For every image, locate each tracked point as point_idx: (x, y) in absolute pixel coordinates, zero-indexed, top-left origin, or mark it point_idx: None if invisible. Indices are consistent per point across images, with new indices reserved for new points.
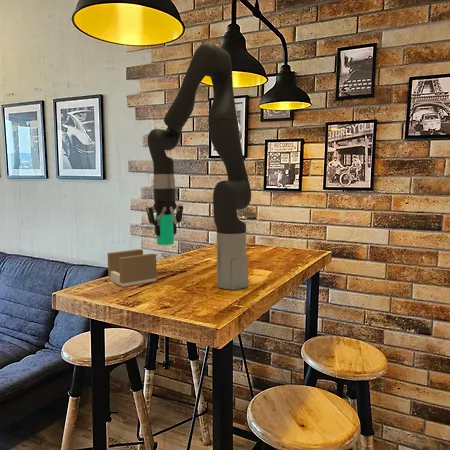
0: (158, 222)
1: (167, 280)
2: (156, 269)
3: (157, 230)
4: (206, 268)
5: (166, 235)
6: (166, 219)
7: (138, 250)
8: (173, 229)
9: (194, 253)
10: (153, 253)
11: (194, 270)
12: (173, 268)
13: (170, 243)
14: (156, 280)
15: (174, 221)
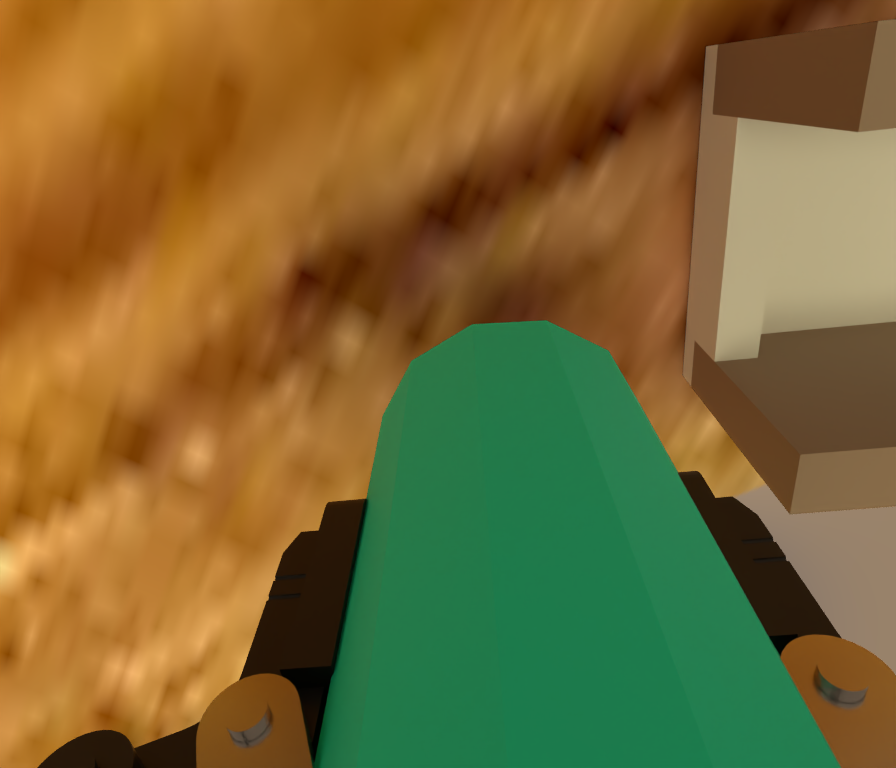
0: (877, 725)
1: (608, 2)
2: (758, 39)
3: (766, 564)
4: (79, 278)
5: (584, 398)
6: (696, 740)
7: (863, 450)
8: (359, 565)
9: (57, 747)
10: (868, 113)
11: (212, 262)
12: (362, 422)
13: (486, 332)
14: (709, 47)
15: (279, 753)
